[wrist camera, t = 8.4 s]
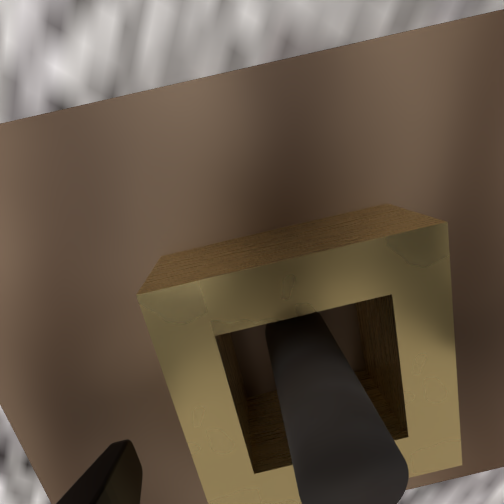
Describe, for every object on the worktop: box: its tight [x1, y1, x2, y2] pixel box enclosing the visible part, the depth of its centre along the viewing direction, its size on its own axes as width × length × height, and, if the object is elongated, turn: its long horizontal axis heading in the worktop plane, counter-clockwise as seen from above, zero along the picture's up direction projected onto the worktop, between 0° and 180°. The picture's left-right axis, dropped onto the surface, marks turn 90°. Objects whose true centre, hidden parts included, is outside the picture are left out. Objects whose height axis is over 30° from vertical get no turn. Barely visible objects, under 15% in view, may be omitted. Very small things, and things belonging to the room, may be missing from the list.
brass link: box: [136, 203, 462, 504], centre depth 10 cm, size 7×7×3 cm
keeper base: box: [0, 9, 504, 504], centre depth 9 cm, size 20×16×6 cm
